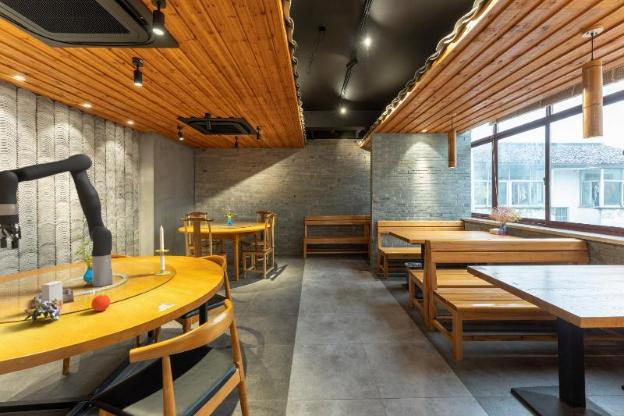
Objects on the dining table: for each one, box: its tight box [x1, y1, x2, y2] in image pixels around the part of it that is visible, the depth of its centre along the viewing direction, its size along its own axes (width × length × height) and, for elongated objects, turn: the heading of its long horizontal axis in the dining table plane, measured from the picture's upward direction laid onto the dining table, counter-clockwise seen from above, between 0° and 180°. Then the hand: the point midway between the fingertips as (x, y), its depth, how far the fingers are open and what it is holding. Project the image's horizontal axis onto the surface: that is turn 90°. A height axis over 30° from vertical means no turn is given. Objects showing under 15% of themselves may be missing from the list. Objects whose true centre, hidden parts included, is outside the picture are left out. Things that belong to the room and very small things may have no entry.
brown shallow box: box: [30, 288, 75, 310], centre depth 144 cm, size 15×18×3 cm
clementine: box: [91, 294, 113, 312], centre depth 131 cm, size 8×7×7 cm
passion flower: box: [23, 299, 61, 326], centre depth 118 cm, size 11×11×12 cm
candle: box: [153, 225, 172, 276], centre depth 195 cm, size 10×10×32 cm
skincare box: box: [40, 280, 64, 309], centre depth 133 cm, size 6×4×12 cm
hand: (9, 248), depth 138 cm, fingers open, 8 cm apart
